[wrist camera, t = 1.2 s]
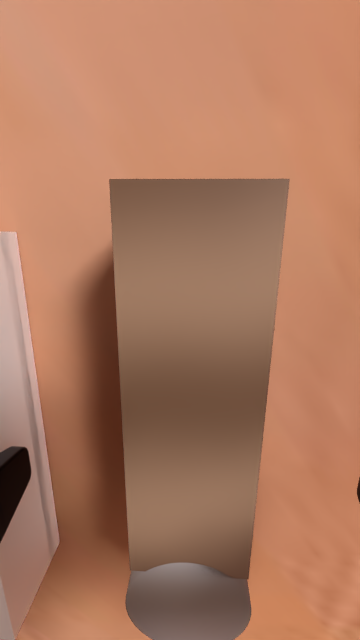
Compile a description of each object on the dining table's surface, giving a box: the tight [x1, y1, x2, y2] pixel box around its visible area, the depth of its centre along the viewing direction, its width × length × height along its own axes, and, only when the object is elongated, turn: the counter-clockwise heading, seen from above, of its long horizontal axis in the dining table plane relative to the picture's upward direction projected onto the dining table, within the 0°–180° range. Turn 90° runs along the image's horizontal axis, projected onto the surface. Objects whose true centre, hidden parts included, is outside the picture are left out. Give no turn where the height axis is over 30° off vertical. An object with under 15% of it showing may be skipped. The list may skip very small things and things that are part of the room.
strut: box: [109, 179, 290, 640], centre depth 10 cm, size 14×4×5 cm, turn 0°
